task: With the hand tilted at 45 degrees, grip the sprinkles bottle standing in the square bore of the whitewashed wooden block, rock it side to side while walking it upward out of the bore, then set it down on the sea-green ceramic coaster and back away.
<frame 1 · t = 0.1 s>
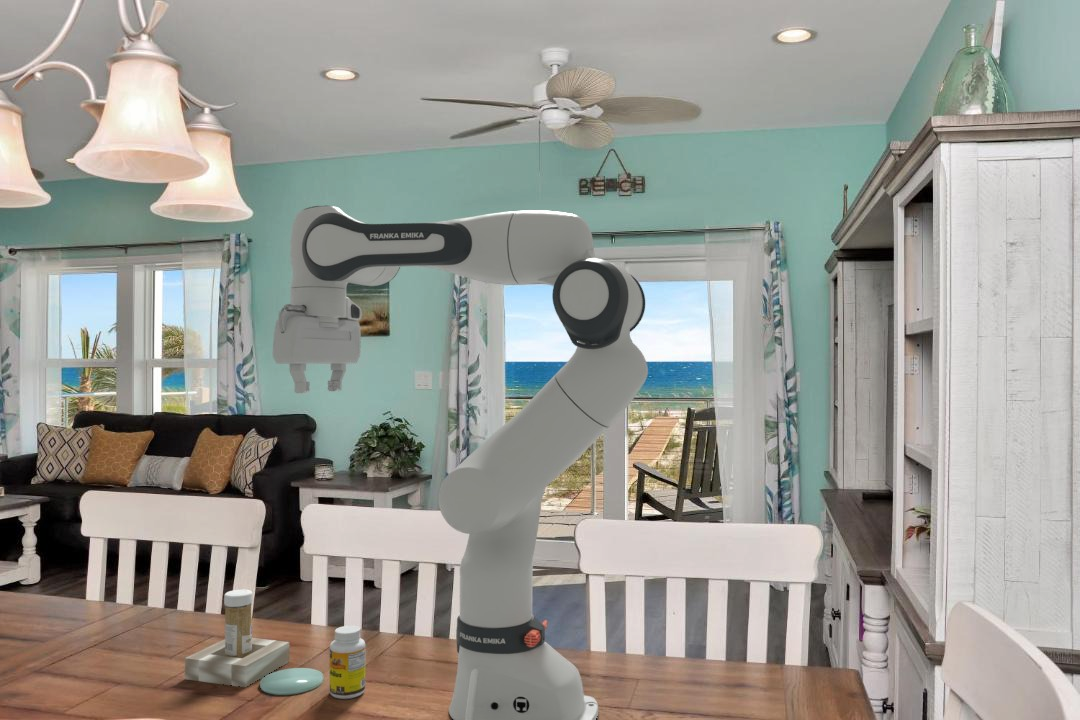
hand: (318, 392, 135), 48 cm above the table, tool pointing down, fingers open, 8 cm apart
sprinkles bottle: (238, 671, 142), resting in bore block
bore block: (238, 670, 142), on the table
coaster: (292, 682, 137), on the table
supplement bottle: (347, 694, 132), on the table
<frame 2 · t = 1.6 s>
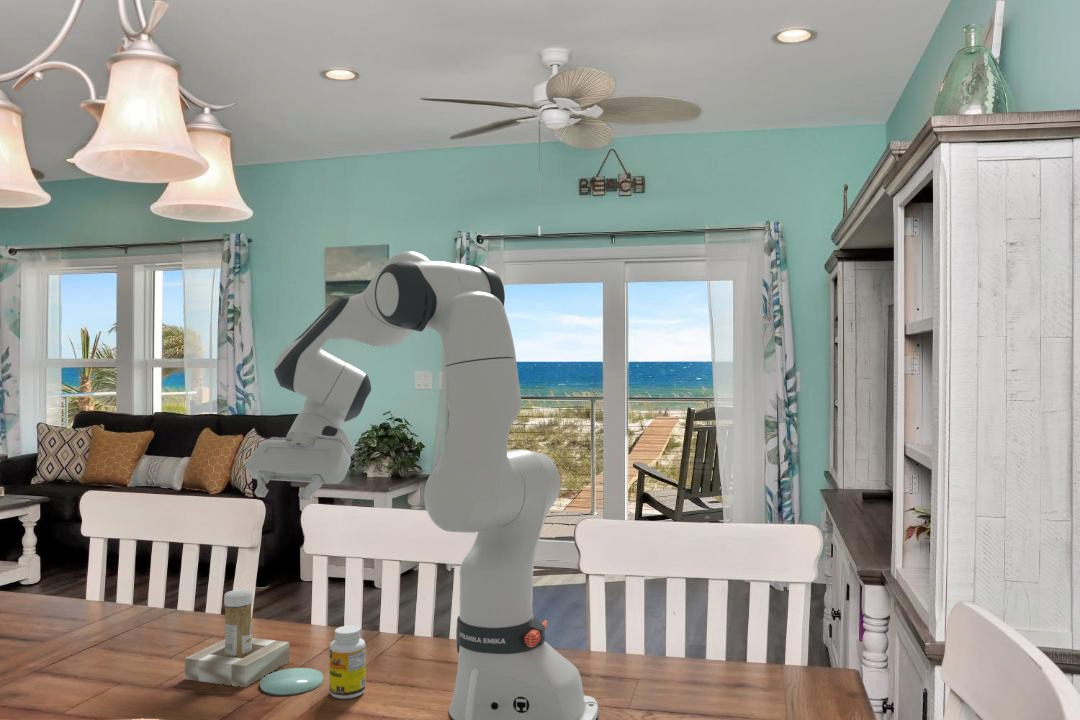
hand: (280, 496, 154), 28 cm above the table, tool tilted 45°, fingers open, 8 cm apart
nothing on the table moved.
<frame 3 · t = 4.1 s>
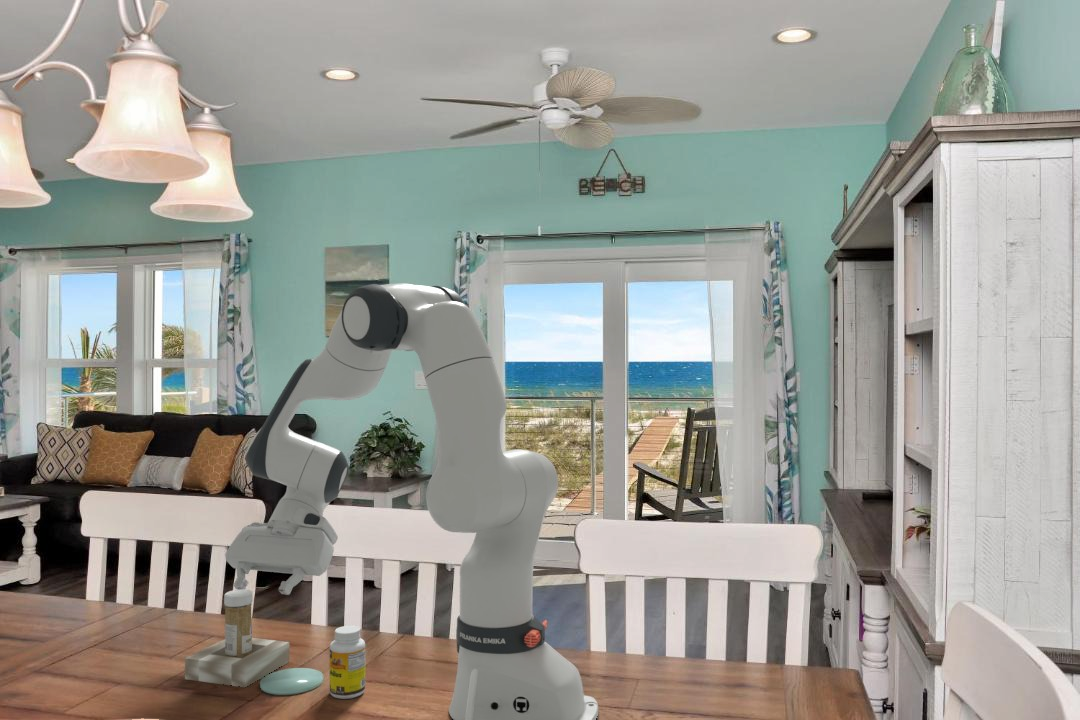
hand: (260, 590, 148), 12 cm above the table, tool tilted 45°, fingers open, 8 cm apart
nothing on the table moved.
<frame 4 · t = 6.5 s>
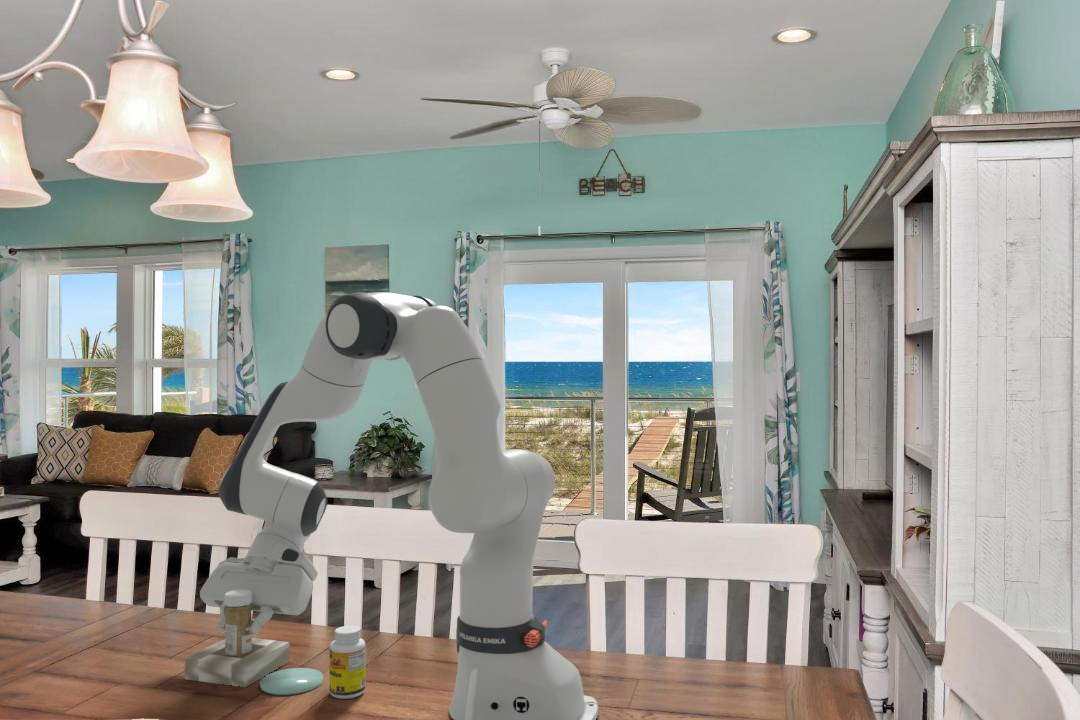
hand: (236, 631, 142), 7 cm above the table, tool tilted 45°, fingers closed on sprinkles bottle, 4 cm apart
sprinkles bottle: (238, 671, 142), resting in bore block, touching gripper
everything else where it was.
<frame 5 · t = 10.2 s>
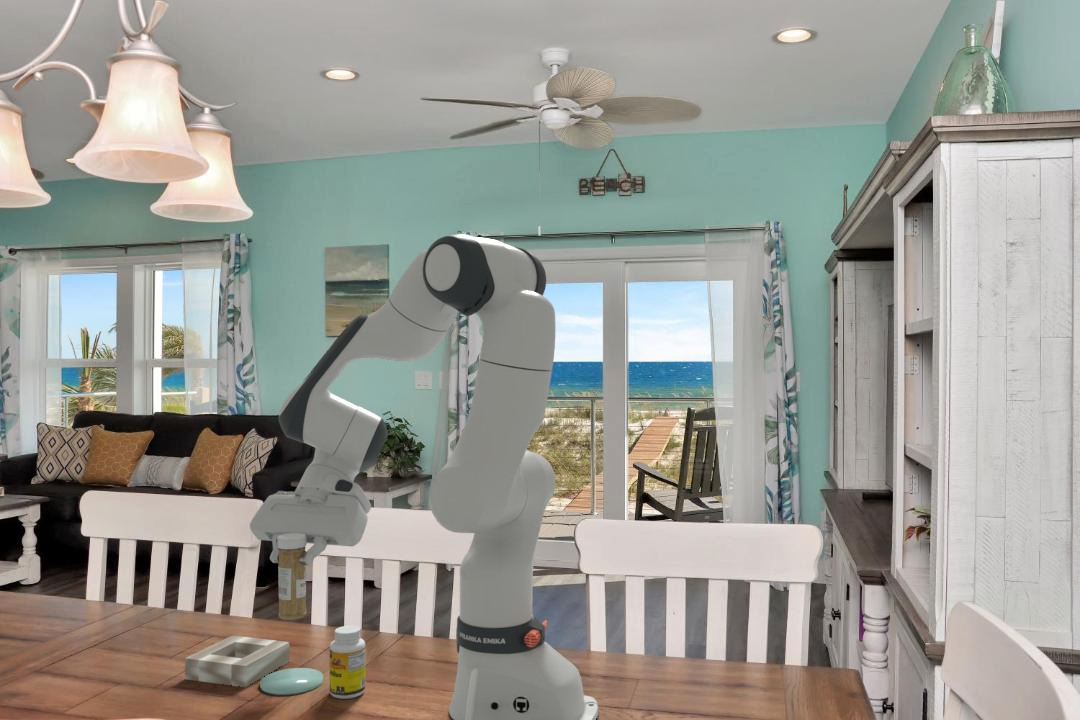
hand: (289, 562, 136), 20 cm above the table, tool tilted 45°, fingers closed on sprinkles bottle, 4 cm apart
sprinkles bottle: (292, 617, 137), point 11 cm above the table, touching gripper
everything else where it was.
when the fingers open (9 cm above the table, at t = 12.6 s): sprinkles bottle stays where it is, resting on coaster.
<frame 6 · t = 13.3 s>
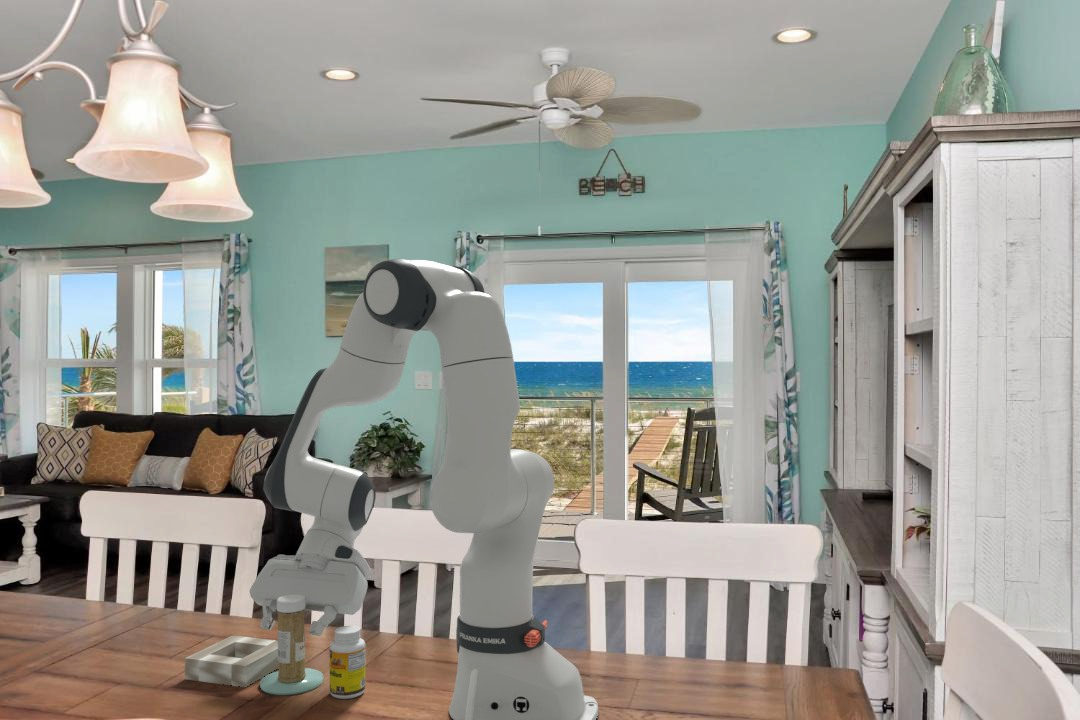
hand: (289, 631, 136), 9 cm above the table, tool tilted 45°, fingers open, 8 cm apart
sprinkles bottle: (291, 679, 137), resting on coaster
everything else where it was.
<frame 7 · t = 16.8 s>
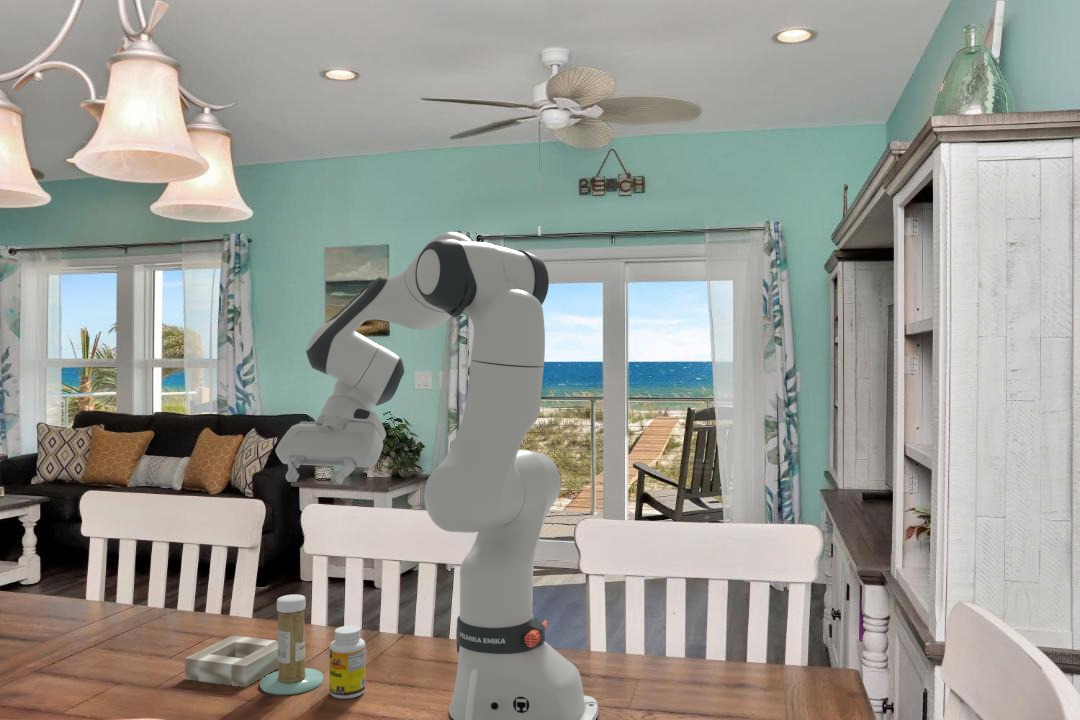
hand: (312, 481, 150), 31 cm above the table, tool tilted 45°, fingers open, 8 cm apart
nothing on the table moved.
at the end: sprinkles bottle 0.2 cm from the coaster (horizontally); sprinkles bottle tilted 0°; sprinkles bottle resting on coaster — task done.
